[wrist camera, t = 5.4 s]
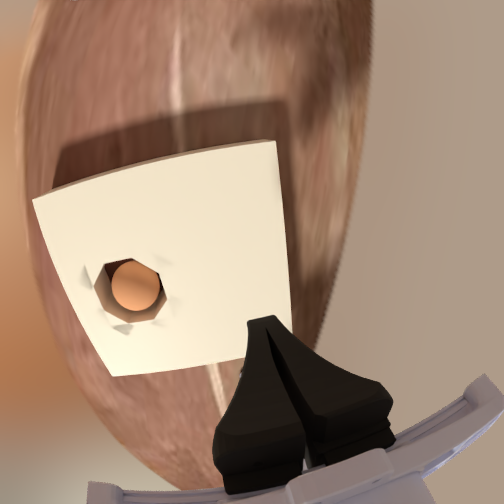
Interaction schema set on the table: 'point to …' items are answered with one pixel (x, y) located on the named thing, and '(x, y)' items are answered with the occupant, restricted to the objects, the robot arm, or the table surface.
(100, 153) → the table surface
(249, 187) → the hole board
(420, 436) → the robot arm
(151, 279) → the ball
